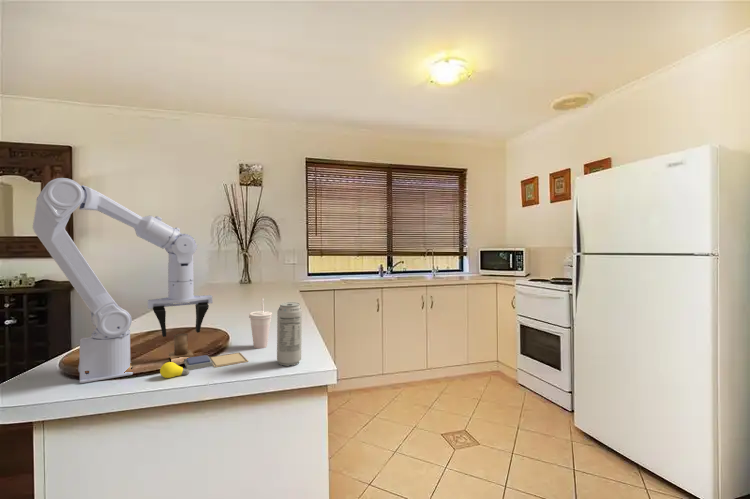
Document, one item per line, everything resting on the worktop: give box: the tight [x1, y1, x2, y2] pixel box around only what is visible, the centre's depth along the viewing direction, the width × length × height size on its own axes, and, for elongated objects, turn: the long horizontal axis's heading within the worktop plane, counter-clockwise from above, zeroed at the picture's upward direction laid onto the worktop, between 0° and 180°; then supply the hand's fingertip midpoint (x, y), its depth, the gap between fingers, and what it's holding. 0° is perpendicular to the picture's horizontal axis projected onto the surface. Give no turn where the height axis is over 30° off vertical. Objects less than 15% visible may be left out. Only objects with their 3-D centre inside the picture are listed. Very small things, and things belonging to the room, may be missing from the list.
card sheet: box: [209, 351, 249, 368], centre depth 96 cm, size 8×8×1 cm
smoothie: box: [248, 297, 273, 349], centre depth 107 cm, size 6×6×14 cm
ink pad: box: [183, 354, 214, 371], centre depth 92 cm, size 6×6×1 cm
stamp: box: [168, 333, 194, 358], centre depth 95 cm, size 5×5×6 cm
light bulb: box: [159, 361, 191, 379], centre depth 84 cm, size 3×6×4 cm, turn 117°
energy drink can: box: [276, 302, 303, 367], centre depth 94 cm, size 6×6×15 cm
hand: (181, 333), depth 95 cm, fingers open, 7 cm apart
